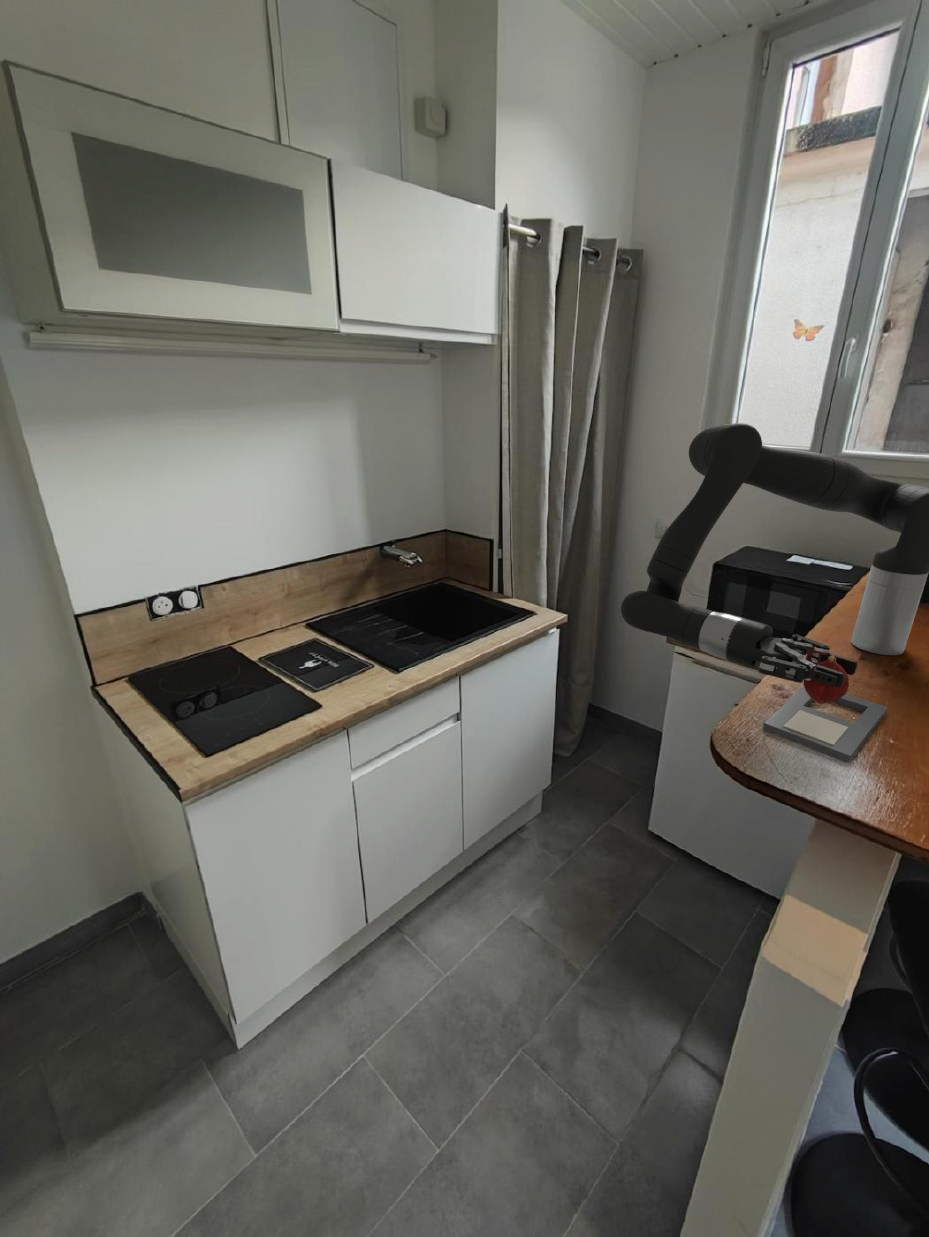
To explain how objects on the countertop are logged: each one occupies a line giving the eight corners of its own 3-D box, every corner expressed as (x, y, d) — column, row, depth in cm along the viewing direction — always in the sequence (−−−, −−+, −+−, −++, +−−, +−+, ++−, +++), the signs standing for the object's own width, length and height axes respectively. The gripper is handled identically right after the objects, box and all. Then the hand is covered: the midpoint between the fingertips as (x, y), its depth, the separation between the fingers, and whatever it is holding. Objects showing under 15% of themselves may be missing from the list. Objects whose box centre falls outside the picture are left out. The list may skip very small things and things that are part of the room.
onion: (848, 715, 84) (863, 667, 81) (805, 711, 85) (819, 663, 82) (833, 696, 89) (846, 650, 86) (793, 692, 91) (805, 646, 87)
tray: (807, 687, 103) (809, 681, 103) (885, 713, 95) (888, 706, 94) (762, 729, 91) (764, 721, 90) (848, 762, 82) (850, 754, 82)
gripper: (718, 629, 89) (841, 666, 77) (756, 607, 98) (871, 638, 86) (710, 672, 92) (827, 714, 80) (748, 647, 101) (857, 681, 89)
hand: (849, 674), depth 83 cm, fingers closed on onion, 5 cm apart
